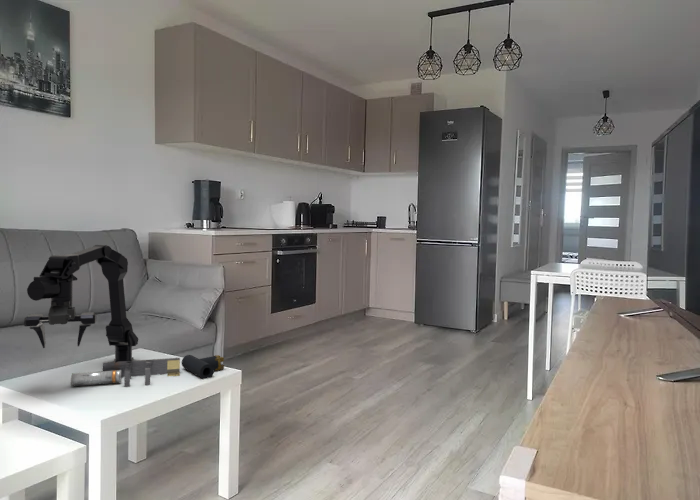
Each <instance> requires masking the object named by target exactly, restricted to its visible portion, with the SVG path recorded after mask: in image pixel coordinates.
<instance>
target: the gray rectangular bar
mask: <svg viewBox="0 0 700 500" xmlns="http://www.w3.org/2000/svg"><path fill="white" fill-rule="evenodd" d="M150 361H151V376H153V375H165V374H166V375H167V377H177V376H181V373H180V371H181V370H180V368H181V366H180V363H181V358H180V357H167V358H154V359H152V358H151V359H139V360H137V359H136V360H135V359H134V360H133V361H119V362H114V361H107V362H106V361H105V362H102V371H114V370H121V371H122V378H124V371H125V370H126V363H131V377H138V376H139V377H141V376H145V368H146V362H150Z"/></svg>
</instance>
